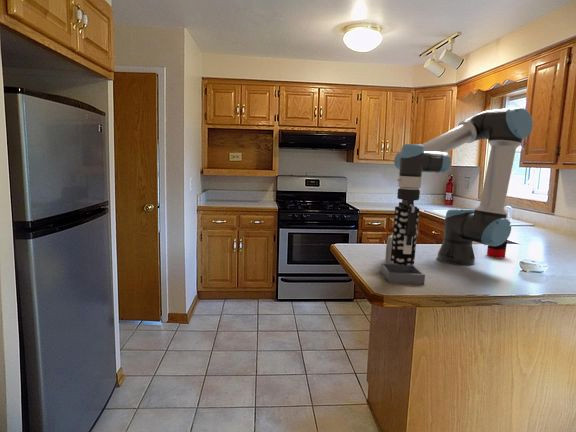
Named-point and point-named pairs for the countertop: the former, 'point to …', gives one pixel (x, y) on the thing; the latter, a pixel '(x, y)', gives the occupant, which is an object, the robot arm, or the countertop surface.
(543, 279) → the countertop surface
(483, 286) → the countertop surface
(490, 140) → the robot arm
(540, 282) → the countertop surface
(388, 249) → the stereo radio cassette player
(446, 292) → the countertop surface
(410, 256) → the spotted tube
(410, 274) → the tray
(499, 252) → the soda can
